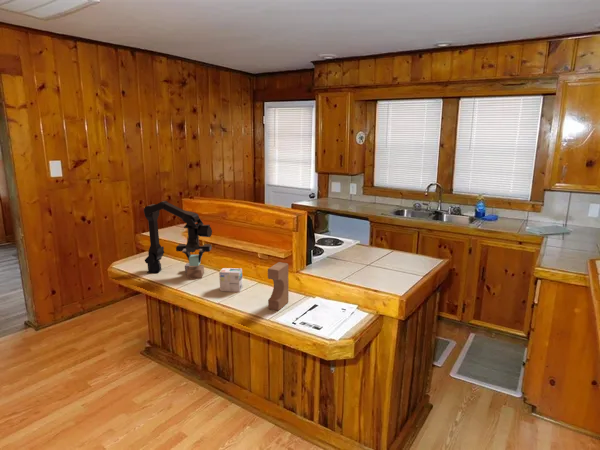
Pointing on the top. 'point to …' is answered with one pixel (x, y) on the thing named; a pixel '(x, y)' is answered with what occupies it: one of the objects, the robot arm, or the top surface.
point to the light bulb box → (231, 279)
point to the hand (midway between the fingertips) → (194, 262)
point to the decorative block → (278, 286)
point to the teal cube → (194, 260)
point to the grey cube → (186, 267)
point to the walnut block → (195, 271)
